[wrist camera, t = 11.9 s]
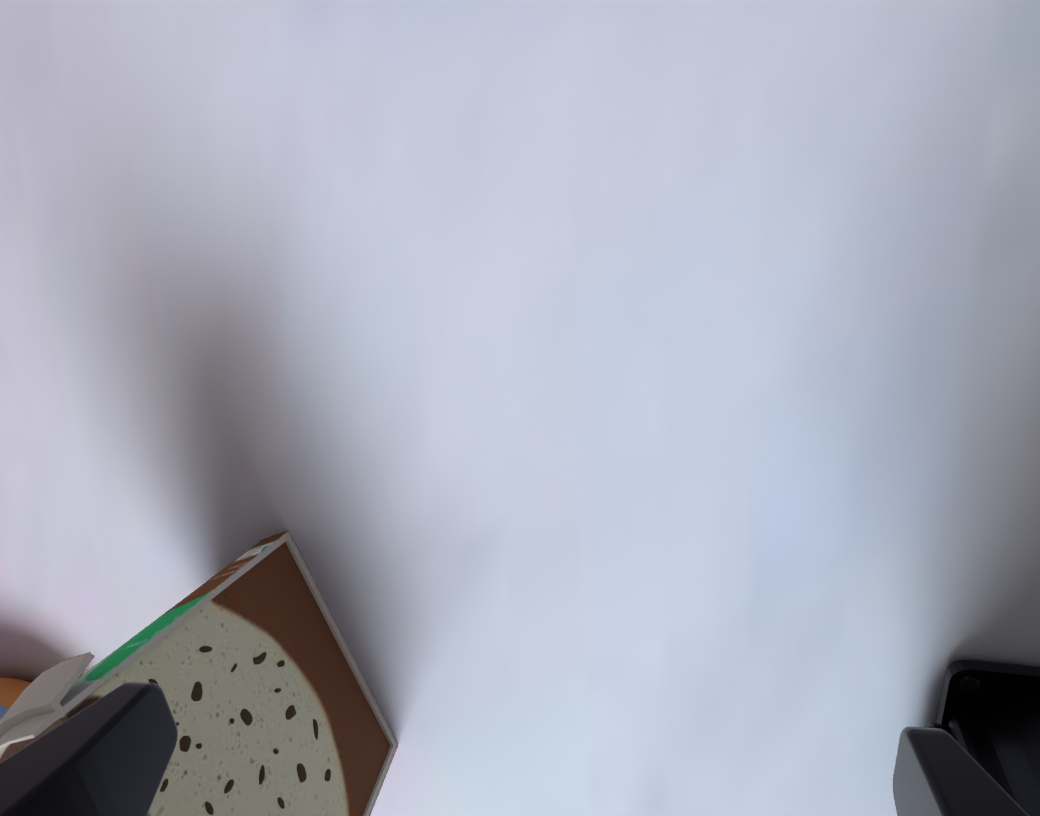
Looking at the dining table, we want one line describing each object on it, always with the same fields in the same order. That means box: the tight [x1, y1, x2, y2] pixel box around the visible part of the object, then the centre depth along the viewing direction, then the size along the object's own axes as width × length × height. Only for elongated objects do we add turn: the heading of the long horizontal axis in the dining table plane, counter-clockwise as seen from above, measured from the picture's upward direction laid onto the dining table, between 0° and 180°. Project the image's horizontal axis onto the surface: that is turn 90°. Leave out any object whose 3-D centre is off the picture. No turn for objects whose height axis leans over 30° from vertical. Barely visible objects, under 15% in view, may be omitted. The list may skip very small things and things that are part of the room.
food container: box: [0, 531, 398, 816], centre depth 24 cm, size 12×6×10 cm, turn 21°
